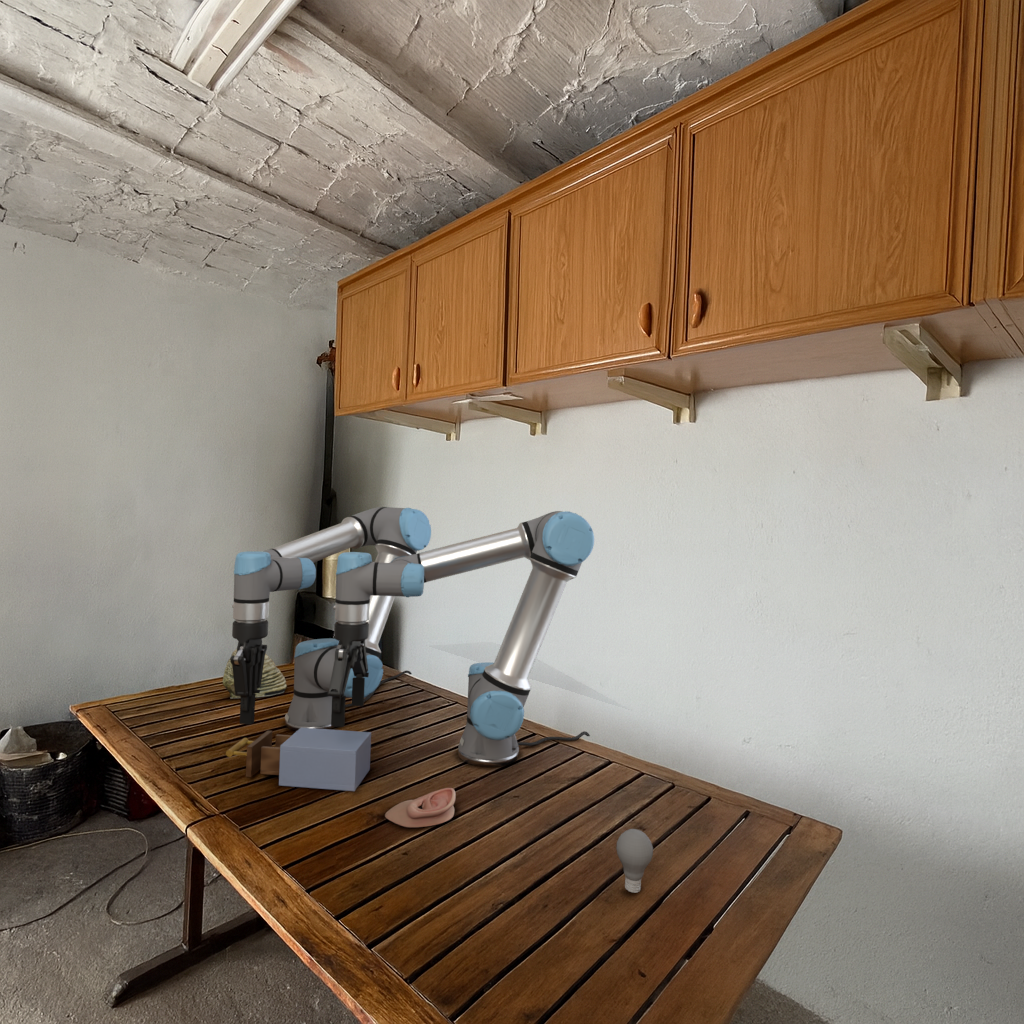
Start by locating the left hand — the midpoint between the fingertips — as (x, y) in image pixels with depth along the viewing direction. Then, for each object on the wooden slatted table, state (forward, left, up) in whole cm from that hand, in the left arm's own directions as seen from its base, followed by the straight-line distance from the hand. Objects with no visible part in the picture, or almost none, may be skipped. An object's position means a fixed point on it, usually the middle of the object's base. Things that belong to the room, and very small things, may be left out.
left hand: (246, 722), depth 144 cm
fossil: (-30, -49, -11) cm, 58 cm away
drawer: (-4, +6, -10) cm, 13 cm away
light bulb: (-20, +88, -11) cm, 91 cm away
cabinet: (-11, +16, -11) cm, 22 cm away
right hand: (-13, +19, +3) cm, 24 cm away
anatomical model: (-14, +43, -11) cm, 47 cm away
